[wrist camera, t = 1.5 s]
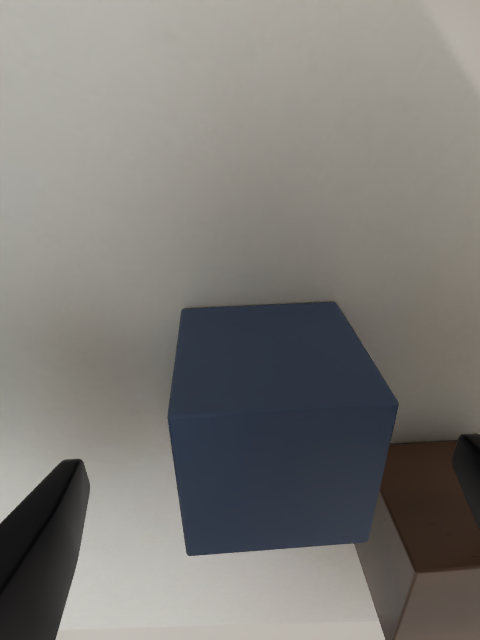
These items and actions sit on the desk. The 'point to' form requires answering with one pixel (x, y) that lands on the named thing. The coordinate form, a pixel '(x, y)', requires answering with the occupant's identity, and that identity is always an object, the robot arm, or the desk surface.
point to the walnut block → (423, 548)
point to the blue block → (276, 428)
